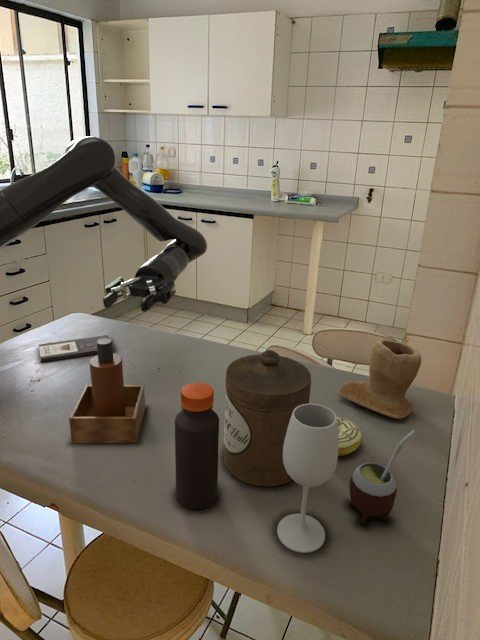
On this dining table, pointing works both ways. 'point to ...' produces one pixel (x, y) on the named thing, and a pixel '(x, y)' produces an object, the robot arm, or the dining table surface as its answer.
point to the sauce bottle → (107, 381)
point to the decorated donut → (347, 436)
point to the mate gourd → (374, 488)
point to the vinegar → (196, 447)
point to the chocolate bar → (69, 348)
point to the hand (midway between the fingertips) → (123, 305)
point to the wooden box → (108, 419)
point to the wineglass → (308, 470)
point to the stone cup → (386, 380)
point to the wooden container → (261, 415)
